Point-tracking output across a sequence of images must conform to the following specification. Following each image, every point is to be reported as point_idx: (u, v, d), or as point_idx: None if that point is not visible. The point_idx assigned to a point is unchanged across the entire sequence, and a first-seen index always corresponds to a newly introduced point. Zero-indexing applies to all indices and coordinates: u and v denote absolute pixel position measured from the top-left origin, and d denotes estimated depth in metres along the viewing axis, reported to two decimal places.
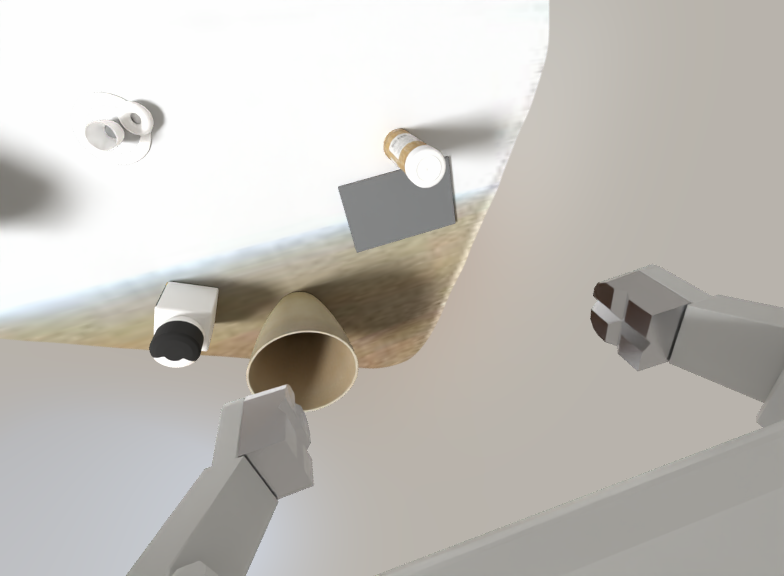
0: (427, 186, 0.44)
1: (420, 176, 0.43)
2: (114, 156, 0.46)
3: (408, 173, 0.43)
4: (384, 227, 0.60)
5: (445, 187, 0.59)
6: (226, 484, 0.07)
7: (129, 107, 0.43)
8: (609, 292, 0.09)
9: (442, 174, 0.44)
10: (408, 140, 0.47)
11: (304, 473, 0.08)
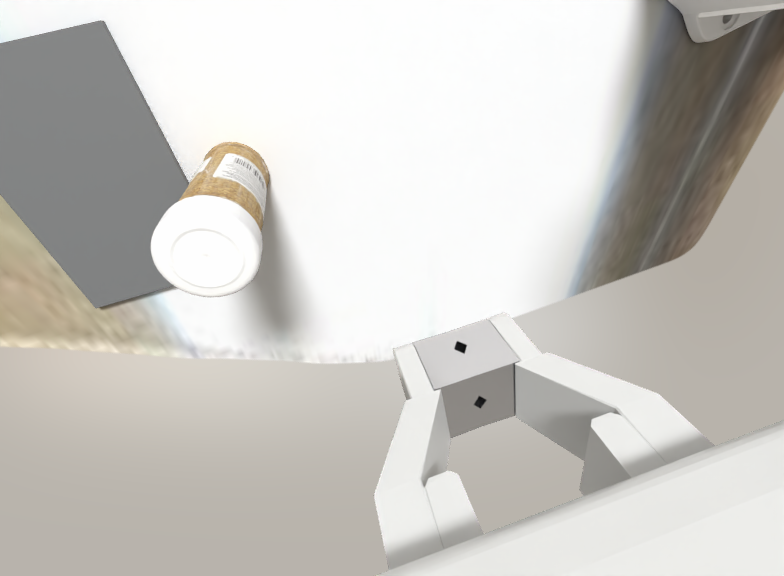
0: (157, 263, 0.16)
1: (182, 241, 0.16)
2: None
3: (182, 208, 0.16)
4: (22, 151, 0.24)
5: None
6: (436, 412, 0.07)
7: None
8: (455, 343, 0.09)
9: (200, 293, 0.18)
10: (258, 195, 0.22)
11: (479, 412, 0.08)
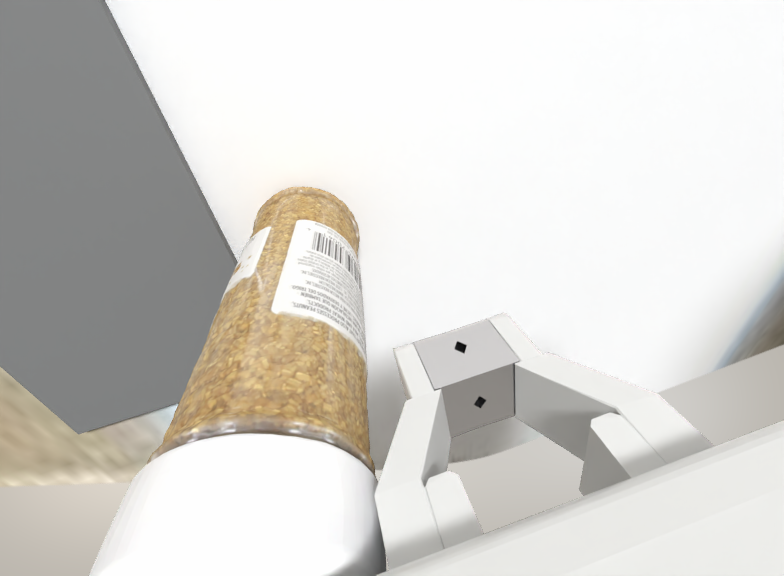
0: None
1: None
2: None
3: (175, 528, 0.05)
4: None
5: None
6: (436, 412, 0.07)
7: None
8: (454, 343, 0.09)
9: None
10: (360, 330, 0.10)
11: (479, 412, 0.08)
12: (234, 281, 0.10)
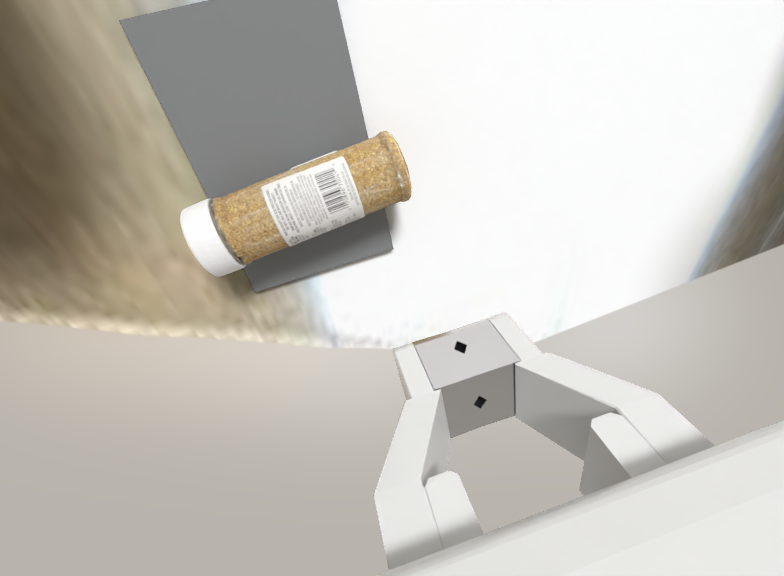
0: None
1: None
2: None
3: (186, 210, 0.22)
4: (223, 117, 0.22)
5: (334, 255, 0.28)
6: (436, 412, 0.07)
7: None
8: (455, 343, 0.09)
9: None
10: (291, 220, 0.22)
11: (479, 412, 0.08)
12: None
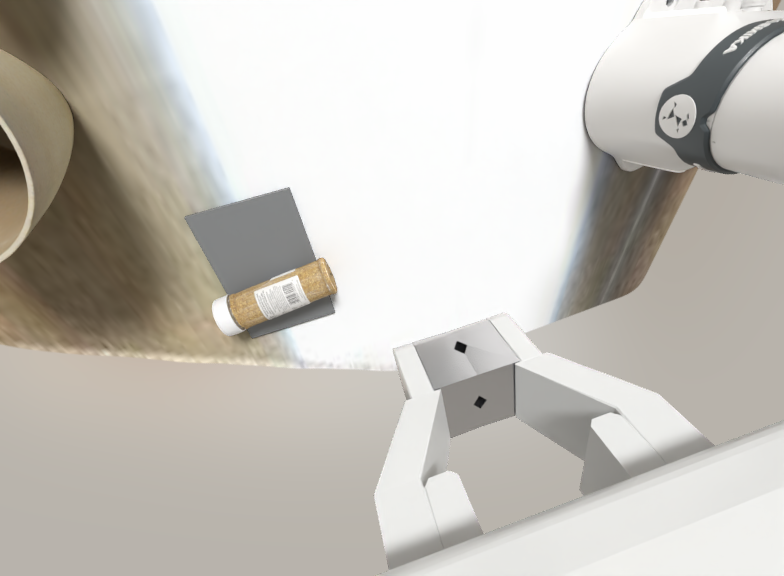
0: None
1: None
2: None
3: (215, 303, 0.42)
4: (234, 253, 0.42)
5: (298, 317, 0.48)
6: (436, 412, 0.07)
7: None
8: (455, 343, 0.09)
9: None
10: (269, 309, 0.42)
11: (479, 412, 0.08)
12: None
